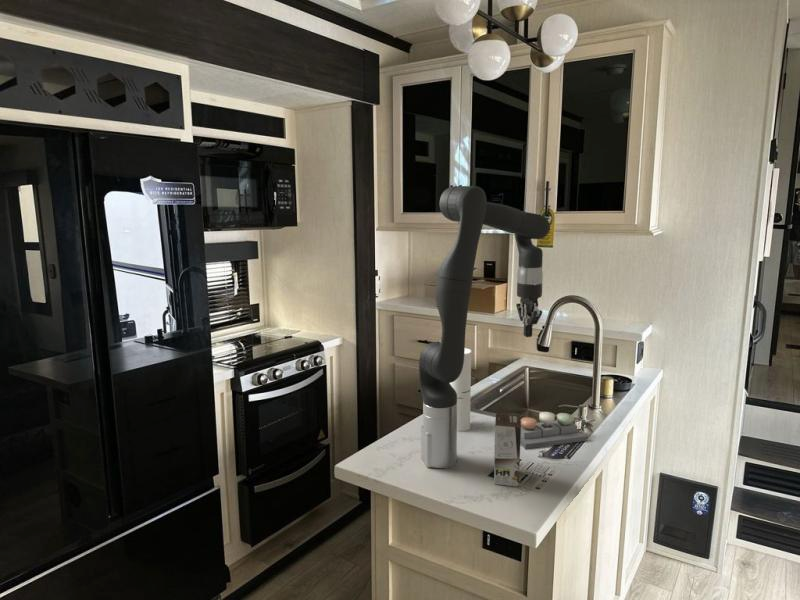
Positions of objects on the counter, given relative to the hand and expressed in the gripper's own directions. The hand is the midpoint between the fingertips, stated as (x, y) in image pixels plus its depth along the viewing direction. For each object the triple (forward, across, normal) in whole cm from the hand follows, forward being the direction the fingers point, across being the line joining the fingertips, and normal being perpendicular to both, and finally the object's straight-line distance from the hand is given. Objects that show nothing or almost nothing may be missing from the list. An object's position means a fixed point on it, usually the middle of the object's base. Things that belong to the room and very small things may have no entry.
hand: (527, 336), depth 170 cm
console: (+29, +10, +2) cm, 31 cm away
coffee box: (+29, +29, -20) cm, 46 cm away
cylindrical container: (+29, -4, -21) cm, 36 cm away
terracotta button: (+27, +10, -4) cm, 29 cm away
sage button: (+27, +10, +8) cm, 30 cm away
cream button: (+26, +10, +2) cm, 27 cm away
